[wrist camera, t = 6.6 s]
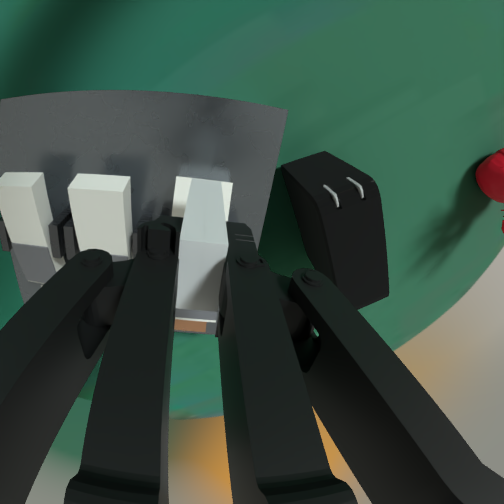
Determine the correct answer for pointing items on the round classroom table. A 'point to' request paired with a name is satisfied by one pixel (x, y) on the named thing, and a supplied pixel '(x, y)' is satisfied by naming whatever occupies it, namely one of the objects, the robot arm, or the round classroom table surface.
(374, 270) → the electronic device
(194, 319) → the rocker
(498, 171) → the heart organ
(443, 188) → the round classroom table surface
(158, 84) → the round classroom table surface
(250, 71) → the round classroom table surface
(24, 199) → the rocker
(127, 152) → the console
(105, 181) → the rocker mid
